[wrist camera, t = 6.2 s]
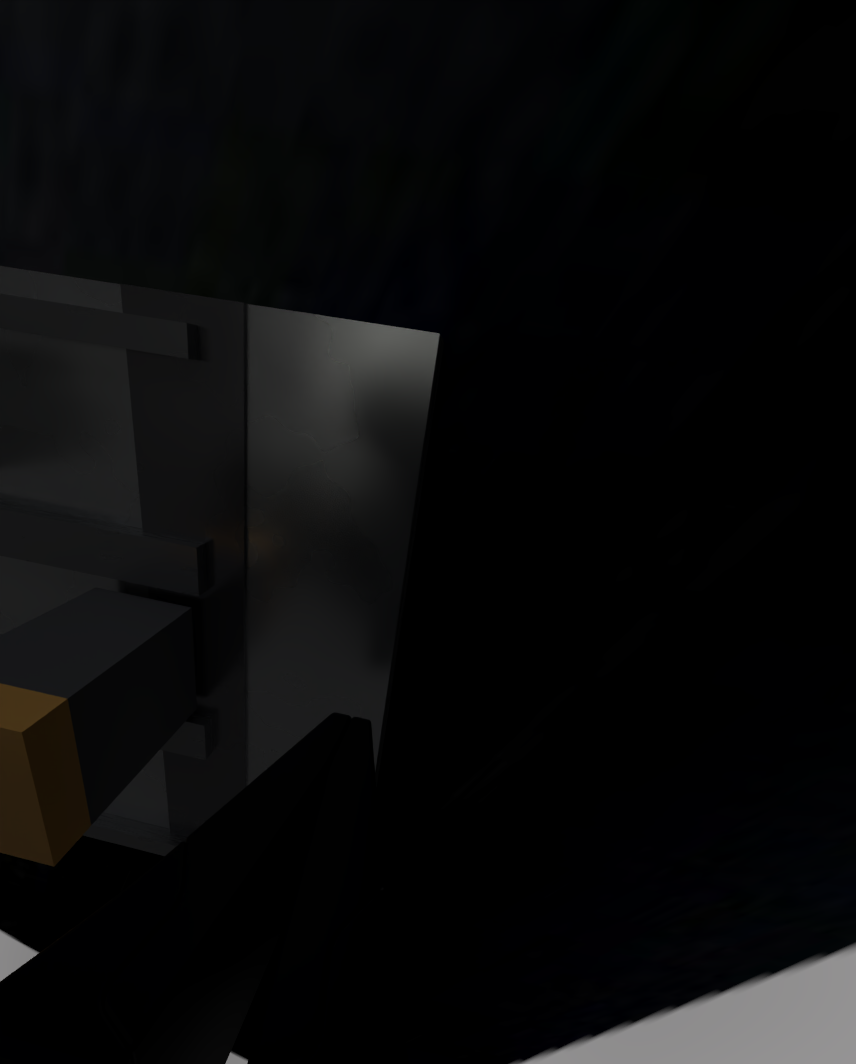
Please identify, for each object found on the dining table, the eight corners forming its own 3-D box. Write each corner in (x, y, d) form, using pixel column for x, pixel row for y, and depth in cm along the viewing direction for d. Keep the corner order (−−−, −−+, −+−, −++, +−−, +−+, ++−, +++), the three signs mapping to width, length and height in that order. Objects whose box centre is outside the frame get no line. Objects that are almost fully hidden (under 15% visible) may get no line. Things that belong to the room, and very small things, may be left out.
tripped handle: (191, 607, 9) (21, 732, 6) (197, 708, 10) (53, 866, 7) (96, 587, 10) (-125, 697, 6) (109, 689, 11) (-72, 833, 7)
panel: (444, 340, 8) (437, 330, 7) (365, 863, 13) (352, 914, 12) (-325, 221, 9) (-458, 193, 8) (-117, 745, 15) (-176, 779, 13)
